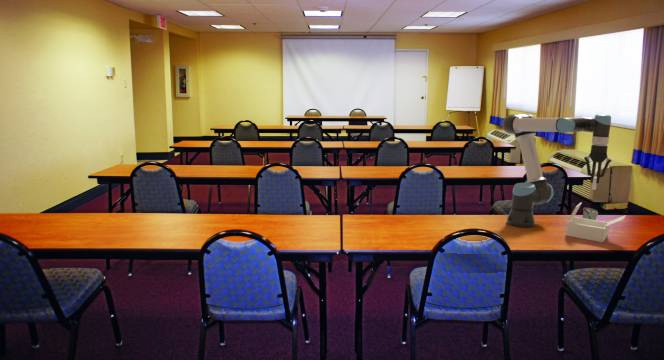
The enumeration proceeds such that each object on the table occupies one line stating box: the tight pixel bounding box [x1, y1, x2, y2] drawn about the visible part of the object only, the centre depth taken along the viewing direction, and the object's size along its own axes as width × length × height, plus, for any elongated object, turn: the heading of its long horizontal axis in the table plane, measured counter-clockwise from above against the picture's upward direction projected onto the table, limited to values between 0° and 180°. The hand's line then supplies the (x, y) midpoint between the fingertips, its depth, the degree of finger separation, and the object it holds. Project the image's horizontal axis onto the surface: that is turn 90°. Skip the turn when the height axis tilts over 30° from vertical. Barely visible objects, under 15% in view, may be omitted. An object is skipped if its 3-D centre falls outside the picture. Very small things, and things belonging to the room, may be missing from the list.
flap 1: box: [567, 201, 582, 222], centre depth 276 cm, size 9×13×1 cm
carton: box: [565, 216, 610, 243], centre depth 273 cm, size 18×15×8 cm
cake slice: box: [582, 207, 599, 221], centre depth 290 cm, size 12×6×10 cm, turn 168°
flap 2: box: [605, 215, 627, 228], centre depth 265 cm, size 9×13×1 cm
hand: (594, 189), depth 269 cm, fingers closed
